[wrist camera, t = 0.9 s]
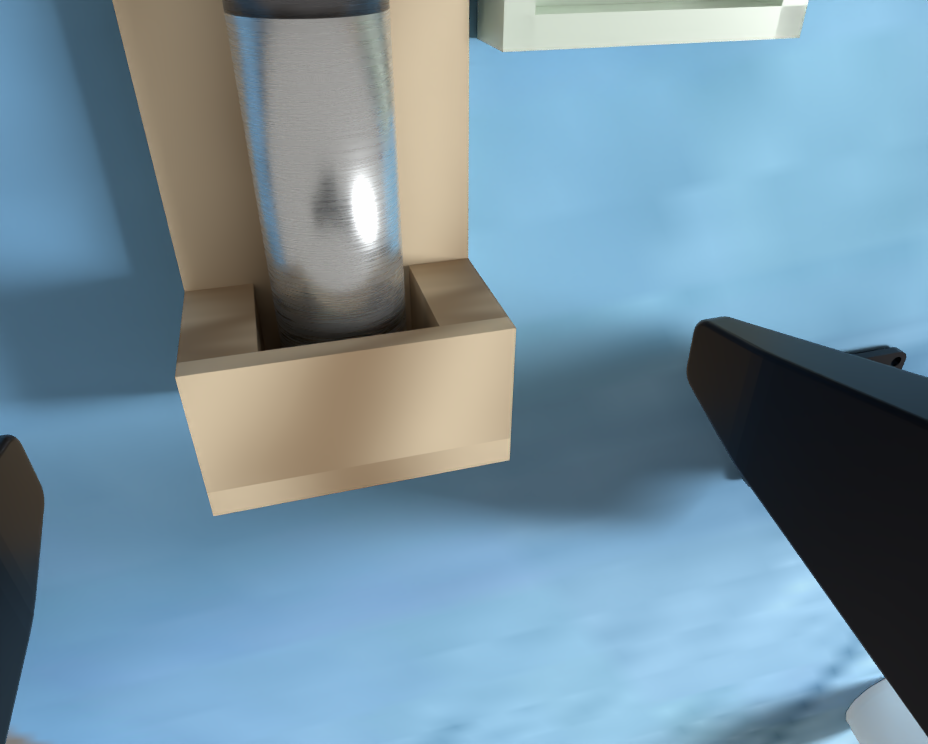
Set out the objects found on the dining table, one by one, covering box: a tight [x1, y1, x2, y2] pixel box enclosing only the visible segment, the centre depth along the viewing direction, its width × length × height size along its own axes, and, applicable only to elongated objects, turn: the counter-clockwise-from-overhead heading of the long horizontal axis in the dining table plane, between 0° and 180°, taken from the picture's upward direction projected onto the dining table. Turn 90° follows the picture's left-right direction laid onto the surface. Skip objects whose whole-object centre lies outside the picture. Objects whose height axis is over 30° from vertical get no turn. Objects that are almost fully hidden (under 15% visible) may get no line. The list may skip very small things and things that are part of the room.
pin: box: [222, 0, 407, 348], centre depth 17 cm, size 3×11×3 cm, turn 0°
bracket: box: [112, 0, 516, 516], centre depth 17 cm, size 8×13×6 cm, turn 0°
